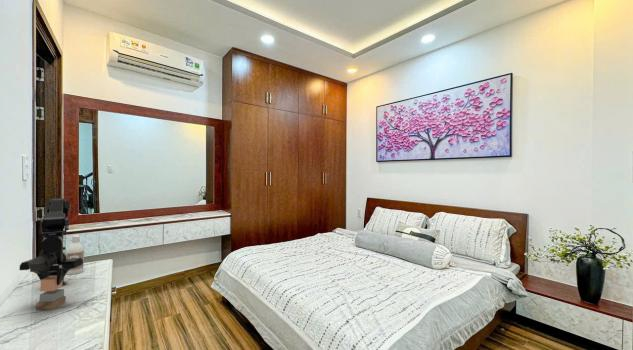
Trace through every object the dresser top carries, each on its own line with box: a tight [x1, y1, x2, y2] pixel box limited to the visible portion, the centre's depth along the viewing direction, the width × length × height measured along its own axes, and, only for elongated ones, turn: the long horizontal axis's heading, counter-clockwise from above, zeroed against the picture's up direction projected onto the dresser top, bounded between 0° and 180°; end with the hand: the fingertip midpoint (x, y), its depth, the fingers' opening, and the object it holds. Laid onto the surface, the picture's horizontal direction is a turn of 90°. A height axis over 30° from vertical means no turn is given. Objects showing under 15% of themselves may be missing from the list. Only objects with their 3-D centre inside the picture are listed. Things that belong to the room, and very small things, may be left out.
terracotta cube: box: [39, 276, 63, 292], centre depth 106 cm, size 4×4×4 cm
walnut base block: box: [35, 295, 67, 311], centre depth 105 cm, size 6×6×3 cm
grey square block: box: [38, 288, 65, 302], centre depth 106 cm, size 5×5×3 cm
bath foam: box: [66, 234, 85, 276], centre depth 142 cm, size 7×7×20 cm
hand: (51, 285), depth 106 cm, fingers closed on terracotta cube, 4 cm apart
